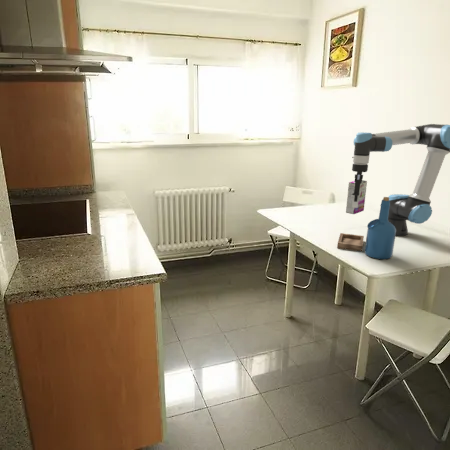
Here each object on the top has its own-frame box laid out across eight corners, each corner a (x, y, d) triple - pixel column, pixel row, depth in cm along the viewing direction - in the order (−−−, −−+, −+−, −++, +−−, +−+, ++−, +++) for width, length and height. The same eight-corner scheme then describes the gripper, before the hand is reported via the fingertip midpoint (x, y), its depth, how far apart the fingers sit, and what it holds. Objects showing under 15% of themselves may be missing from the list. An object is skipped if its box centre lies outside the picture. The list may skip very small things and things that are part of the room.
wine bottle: (386, 251, 199) (395, 194, 190) (396, 260, 186) (406, 200, 178) (359, 250, 199) (367, 194, 191) (368, 259, 187) (376, 200, 178)
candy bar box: (355, 209, 208) (358, 179, 203) (363, 211, 204) (367, 180, 199) (344, 212, 200) (348, 181, 195) (353, 214, 197) (357, 183, 192)
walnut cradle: (363, 240, 214) (363, 235, 213) (362, 251, 197) (362, 246, 197) (339, 238, 218) (340, 233, 217) (337, 248, 202) (337, 242, 201)
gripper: (353, 160, 207) (349, 199, 213) (351, 166, 185) (346, 209, 192) (368, 161, 204) (363, 200, 211) (367, 167, 183) (362, 210, 189)
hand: (355, 204), depth 201 cm, fingers closed on candy bar box, 12 cm apart
